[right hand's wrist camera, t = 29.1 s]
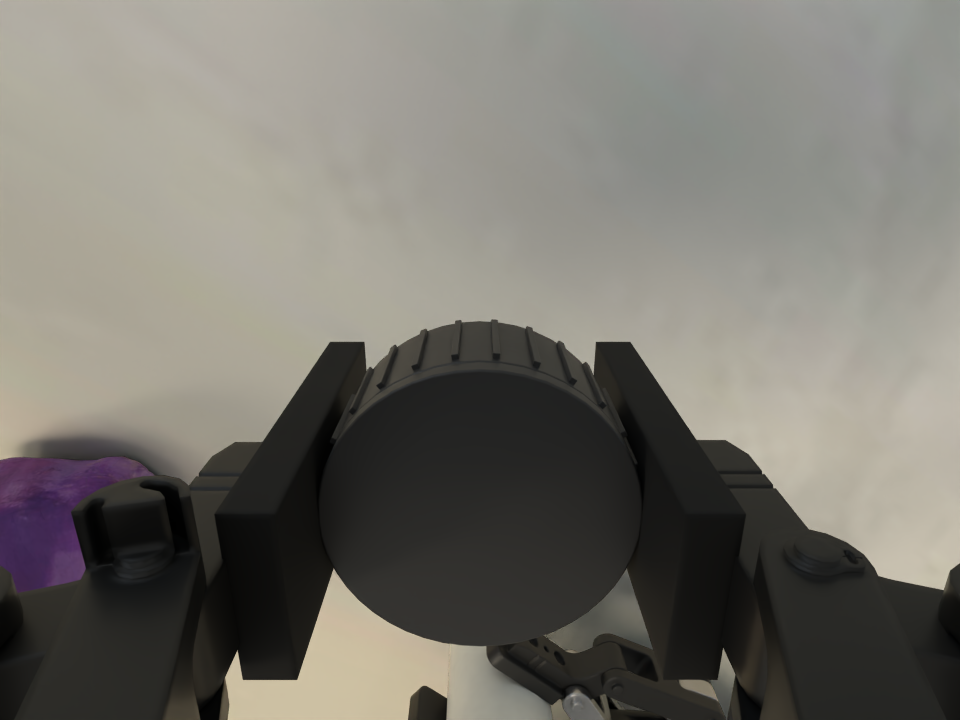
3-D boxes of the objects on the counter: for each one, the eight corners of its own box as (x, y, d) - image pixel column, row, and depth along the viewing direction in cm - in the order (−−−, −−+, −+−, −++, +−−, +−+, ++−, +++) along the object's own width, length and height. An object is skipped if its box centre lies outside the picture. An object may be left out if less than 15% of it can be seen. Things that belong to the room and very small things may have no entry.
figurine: (239, 596, 34) (72, 939, 20) (45, 599, 34) (-261, 944, 20) (210, 437, 30) (-15, 714, 16) (-6, 440, 30) (-419, 720, 16)
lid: (302, 358, 12) (259, 415, 9) (586, 283, 11) (613, 325, 9) (392, 584, 13) (374, 677, 11) (640, 528, 13) (673, 614, 11)
